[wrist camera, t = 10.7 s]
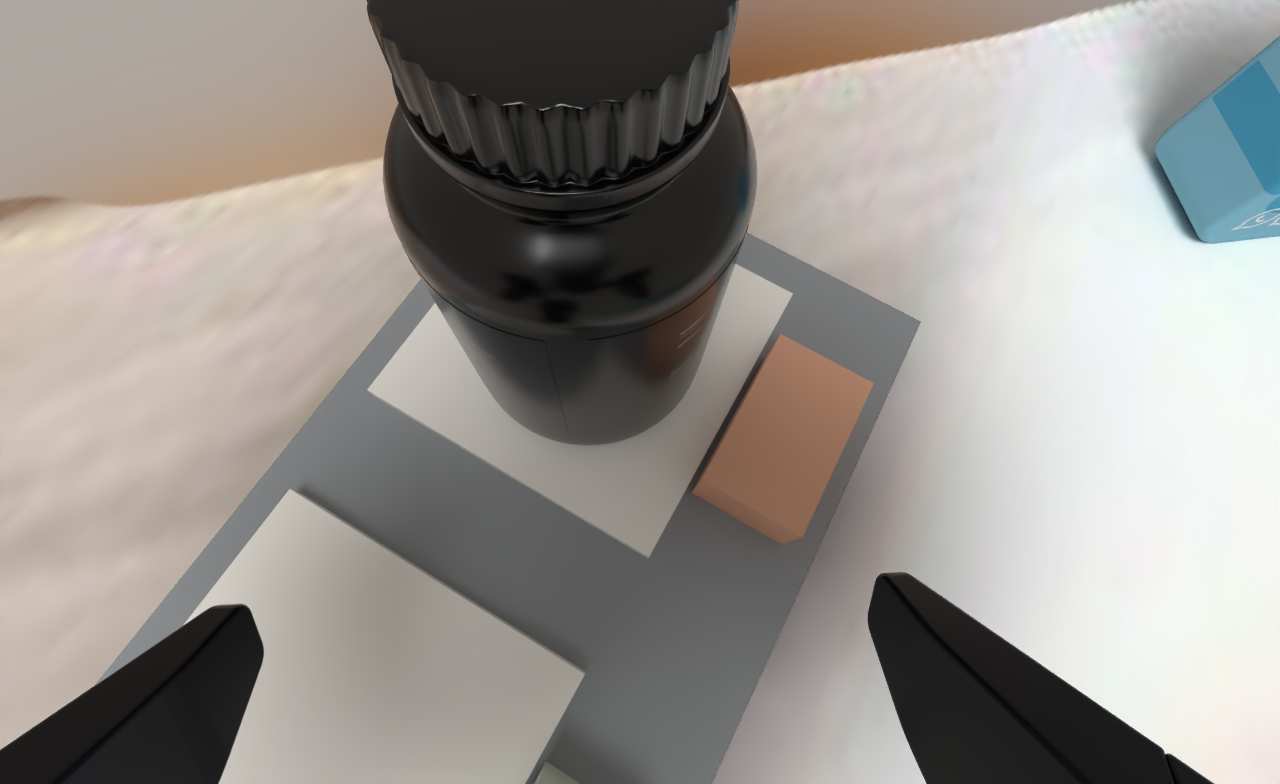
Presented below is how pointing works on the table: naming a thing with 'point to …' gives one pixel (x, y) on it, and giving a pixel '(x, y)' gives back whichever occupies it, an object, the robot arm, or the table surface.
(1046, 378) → the table surface
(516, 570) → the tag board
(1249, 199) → the blue rounded square block
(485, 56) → the supplement bottle
